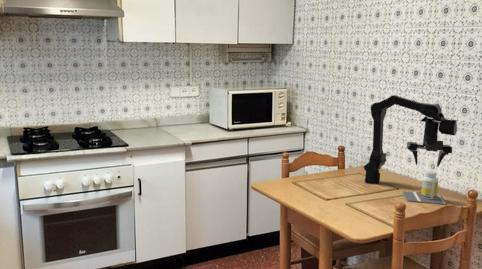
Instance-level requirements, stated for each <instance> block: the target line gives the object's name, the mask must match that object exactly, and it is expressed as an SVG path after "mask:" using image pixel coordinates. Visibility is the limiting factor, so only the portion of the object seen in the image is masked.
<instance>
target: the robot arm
mask: <svg viewBox="0 0 482 269" xmlns="http://www.w3.org/2000/svg"><path fill="white" fill-rule="evenodd" d="M394 105H395V106H399V107H402V108H406V109H409V110H413V111H416V112H418V113H420V114H421V115H423V116H424V117H423V118H422V119H420V122H422V123H423V122H424V130H423V137H422V139H423V140H422V144H418V143H417V142H414V141H412V142H411V141H408V142H407V143H406V149H407V150H408V151H409V152H410V153H411V152H412V154H413V158H414V163H415V165H416V166H417V165H418V153H419V152H418V149H419V150H425V151H426V152H434V153H435V152H436V153H437V152H438V151H439V152H438V157H437V162H436V167H437V168H438V167H439V166H440V165H441V162H442V161H443V159H444V158H445V157H446V156H448V155H449V154H453V146H451V145H450V144H444V141H443V140H438V134H439V133H440V134H441V135H449V136H457V131H458V123H457V121H458V120H457V119H446V117H445V116H444V114H443V110H442V107H441V105H438V104H437V103H436V104H435V103H423V102H420V101H415V100H412V99H410V98H409V99H408V98H406V97H401V96H398V95H395V94H394V95H391V96H389V97H388V98H386V99H384V100H381V101H378V102H374V103H372V104H371V105H370V113H371V117H372V120H373V126H372V128H373V131H372V133H373V134H372V149H371V153H370V156H369V160H368V162H367V163H366V164H365V165H364V166H363V169H364V171H365V173H364V174H365V176H364V183H366V184H375V185H376V184H377V185H378V184H380V180H381V172H380V170H381V168H382V167H384V165H385V164H386V162H387V161H388V160H387V153H386V152H384V149H383V146H384V145H383V144H384V142H383V141H384V140H383V139H384V120H385V117H386V116H387V111H388V109H390V108H391V107H393V106H394Z"/></svg>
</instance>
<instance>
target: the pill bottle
mask: <svg viewBox="0 0 482 269" xmlns="http://www.w3.org/2000/svg"><path fill="white" fill-rule="evenodd" d="M437 174H438V173H437V172H436V171H433V170H426V171H425V173H424V175H425V176H423V177H422V181H421V190H420V193H421V197H423V198H425V199H436V198H437V194H438V188H439V187H438V186H439V179H438V178H437Z"/></svg>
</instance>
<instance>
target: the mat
mask: <svg viewBox="0 0 482 269" xmlns="http://www.w3.org/2000/svg"><path fill="white" fill-rule="evenodd" d="M402 193H403V195H404V198H405V200H406V201H407V202H410V203H411V202H412V203H420V202H421V203H422V204H431V203H434V205H443V204H444V205H446V206H447V202H446V201H445V200H444V198H443V197H442V196H441V194H440V193H437V198H436V199H425V198H423V197H421V192H418V191H417V192H416V191H407V190H406V191H402Z"/></svg>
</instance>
